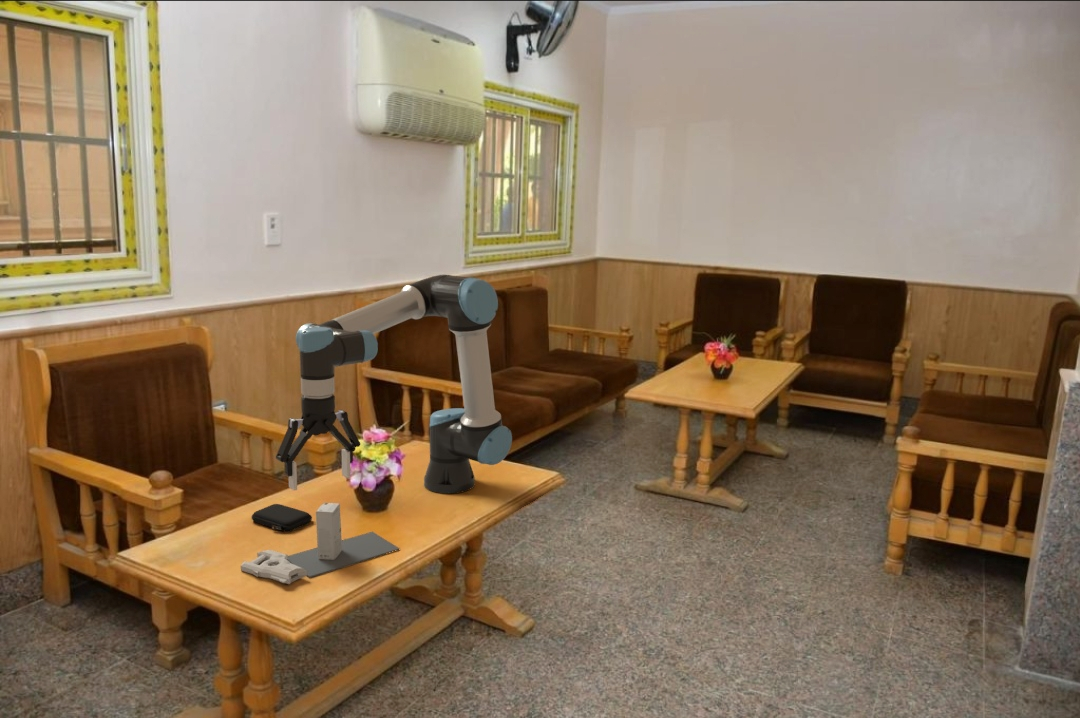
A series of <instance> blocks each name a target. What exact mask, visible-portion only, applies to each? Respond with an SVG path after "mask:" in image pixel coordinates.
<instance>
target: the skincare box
mask: <svg viewBox="0 0 1080 718" xmlns="http://www.w3.org/2000/svg"><path fill="white" fill-rule="evenodd" d="M340 504H341V503H337V502H333V503H332V502H324V503H323V504H321V505H320V506H319V507H318V509H317V510H316V511H315V520H316V521H315V523H316V524H315V525H316V541H317V543H316V545H317V547H318V559H323V560H335V559H336V557H337V556H338V555H339V554H340V552H341V551H342V525H341V524H342V523H341V520H342V519H341V505H340Z"/></svg>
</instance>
